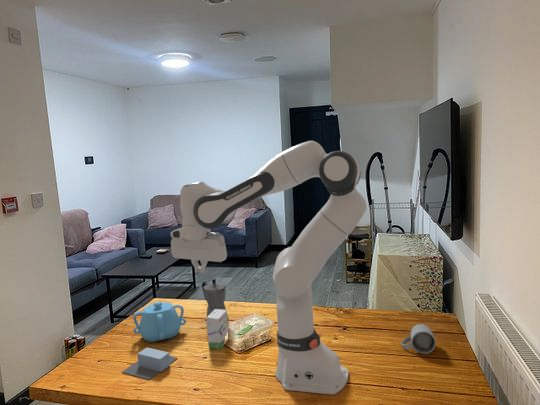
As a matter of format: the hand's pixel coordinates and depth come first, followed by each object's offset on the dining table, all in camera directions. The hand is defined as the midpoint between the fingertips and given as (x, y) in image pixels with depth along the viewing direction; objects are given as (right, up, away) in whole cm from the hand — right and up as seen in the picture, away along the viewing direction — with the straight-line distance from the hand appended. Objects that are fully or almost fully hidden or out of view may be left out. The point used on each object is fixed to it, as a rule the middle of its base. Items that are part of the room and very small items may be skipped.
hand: (200, 272), depth 136 cm
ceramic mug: (+73, -27, +3) cm, 78 cm away
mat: (-18, -32, +3) cm, 37 cm away
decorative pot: (-20, -29, +26) cm, 44 cm away
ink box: (+4, -29, +16) cm, 33 cm away
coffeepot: (0, -26, +36) cm, 45 cm away
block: (-12, -30, 0) cm, 32 cm away
